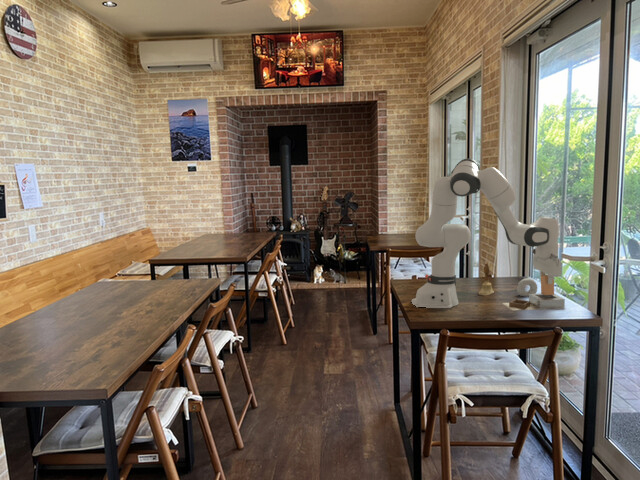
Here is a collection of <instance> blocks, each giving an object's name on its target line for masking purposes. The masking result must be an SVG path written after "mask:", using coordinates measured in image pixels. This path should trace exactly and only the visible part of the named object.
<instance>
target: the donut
mask: <svg viewBox="0 0 640 480" xmlns="http://www.w3.org/2000/svg"><path fill="white" fill-rule="evenodd" d="M516 286H517V287H516V290H517V291H516V292H517V294H518V295H519V296H520V297H529V294H537V291H538V284H537V282H536V281H535V280H534V279H532V278H531V277H529V278H523V279H521V280H520V281H518V284H517V285H516ZM527 286H529V289H528V290H527V291H526V290H525V288H526V287H527Z"/></svg>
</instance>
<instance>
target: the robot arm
mask: <svg viewBox="0 0 640 480" xmlns="http://www.w3.org/2000/svg"><path fill="white" fill-rule="evenodd" d="M479 191H481V192H482V194H483V195H484V196H485V198H486V199H487V201H488V202H489V204H490V205H491V207H492V209H493V211H494V214H495V215H496V216H497V218H498V220H499V222H500V224H501V225H502V227H503V229H504V231H505V236H506V239H507V241H508V242H509V243H510V244H512V245H517V246H518V245H520V246H524V247H529V248H532V250H531V253H532V254H533V255H532V265H533V269H535V270H537V271H539V274H540V276H541V275H548V280H547V283H548V284H552V280H553V278H554V279H555V278H560V277H561V276H562V274H563V273H562V272H563V271H562V261H561V260H560V258H559V242H558V240H559V236H560V229H559V227H560V226H559V222H558V219H556V218H555V217H551V216H550V217H549V216H543V215H541V216H539V217H538V219H537V220H535V221H534V222H532V223H530V224H526V223H522V222H520V221H519V220H517V218H516V217H515V215H514V213H513V212H512V210H511V206H512V205H513V204H514V203H515V201H516V197H517V196H516V195H517V194H516V192H515V189H514V188H513V186H512V184H511V183H510V182H509V181H508V179H507V178H506V177H505V175H503V173H501V172H500V171H499V170H498V168H495V167H492V166H491V167H490V166H489V167H486V168H484V169H483V170H480V165H479V164H478V162H477V161H476V160H475V159H472V158H463V159H461V160H460V161H459V162H457V164H456V165H455V167H454V168H453V170H452V171H451V173H450V176H441V177H439V178H437V179H436V181H435V182H434V186H433V191H432V198H431V200H432V201H431V212H430V215H429V217H428V219H427V221H425V222H424V223H423V224H422V225H419V226H418V228H417V229H416V231H415V235H414V236H415V241H416V242H417V244H418V245H419V246H421V247H428V248H443V251H441V252H440V253H437V254H436V255H434V256H433V257H432V259H431V265H430V266H431V274H430V275H429V274H425V275H424V277H425V280H427V282H426V283H425V284H424V285H422V286H421V287H420V288H418V289H417V291H416V294H415V298H413V299H411V302H412V303H411V305H412V304H413V305H415V306H416V307H415V306H414V307H415V308H418V307H426V308H425V309H451V308H453V307H456V306H458V305H459V299H458V295H457V290H456V289H457V275H456V263H457V262H456V261H457V256H458V255H459V253H460V251H461V250H462V248H464V247H465V246H467V244H469V243H470V240H471V238H472V237H471V236H472V233H471V230H470V228H469V227H468V225H466V224H460V223H449V222H451V221H452V220H453V219H455V217H456V215H457V210H458V209H457V208H458V206H457V205H458V197H468V196H470V195H473V194H477V193H478V192H479ZM413 305H412V306H413Z"/></svg>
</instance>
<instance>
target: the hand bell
mask: <svg viewBox="0 0 640 480" xmlns="http://www.w3.org/2000/svg"><path fill="white" fill-rule="evenodd" d="M483 273H484V282H483V283H482V285H481V289H480V290H479V291H478V295H480V296H483V297H484V296H485V297H486V296H488V295H492V294H493V293H495V291H494V290H493V287H492V283H491V282H490V280H489V275H490V274H489V273H490V267H489V263H485V264H484V267H483Z"/></svg>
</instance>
